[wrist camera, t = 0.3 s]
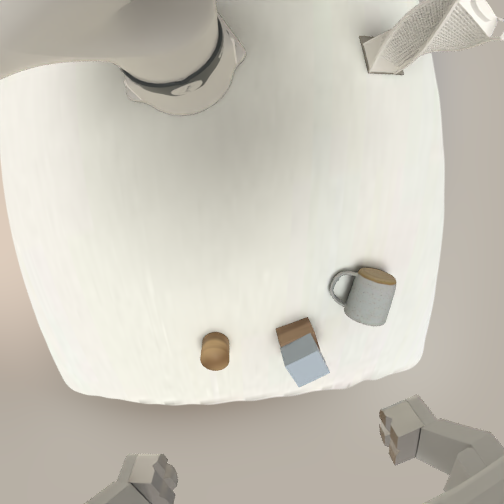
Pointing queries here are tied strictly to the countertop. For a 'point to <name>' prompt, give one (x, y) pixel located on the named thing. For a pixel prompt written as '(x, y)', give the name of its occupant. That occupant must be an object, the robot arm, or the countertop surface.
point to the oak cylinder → (215, 351)
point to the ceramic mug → (368, 296)
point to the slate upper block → (304, 360)
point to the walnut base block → (295, 332)
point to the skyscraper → (430, 33)
